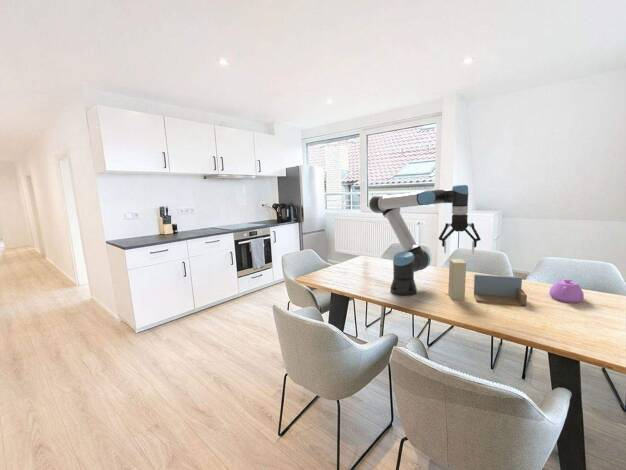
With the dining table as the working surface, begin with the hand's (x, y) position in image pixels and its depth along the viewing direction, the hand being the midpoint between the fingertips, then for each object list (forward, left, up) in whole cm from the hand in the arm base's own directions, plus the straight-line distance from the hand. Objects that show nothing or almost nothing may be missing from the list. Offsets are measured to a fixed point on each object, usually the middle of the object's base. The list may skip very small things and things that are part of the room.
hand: (458, 252), depth 159 cm
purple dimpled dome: (+53, +13, -26) cm, 60 cm away
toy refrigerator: (0, 0, -26) cm, 26 cm away
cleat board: (+20, +1, -25) cm, 32 cm away
